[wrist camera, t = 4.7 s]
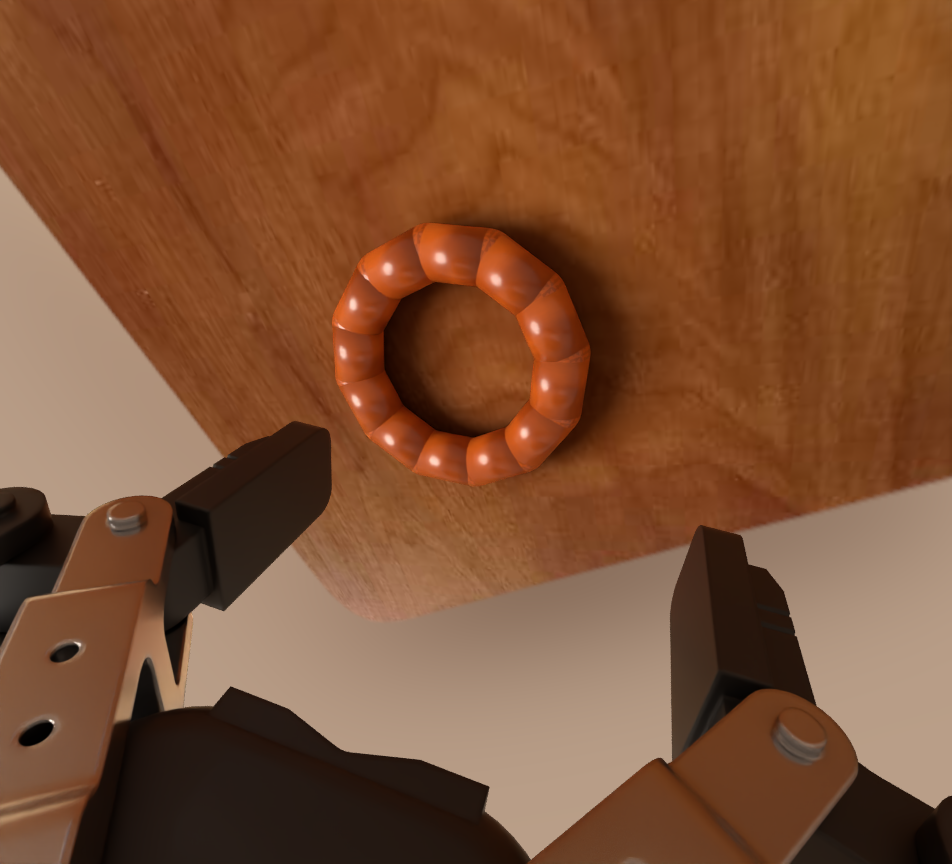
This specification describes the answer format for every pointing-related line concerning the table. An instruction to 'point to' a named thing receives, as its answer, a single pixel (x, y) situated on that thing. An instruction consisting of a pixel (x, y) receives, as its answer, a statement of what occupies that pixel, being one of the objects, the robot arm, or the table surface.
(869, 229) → the table surface
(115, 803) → the robot arm
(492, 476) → the ring
